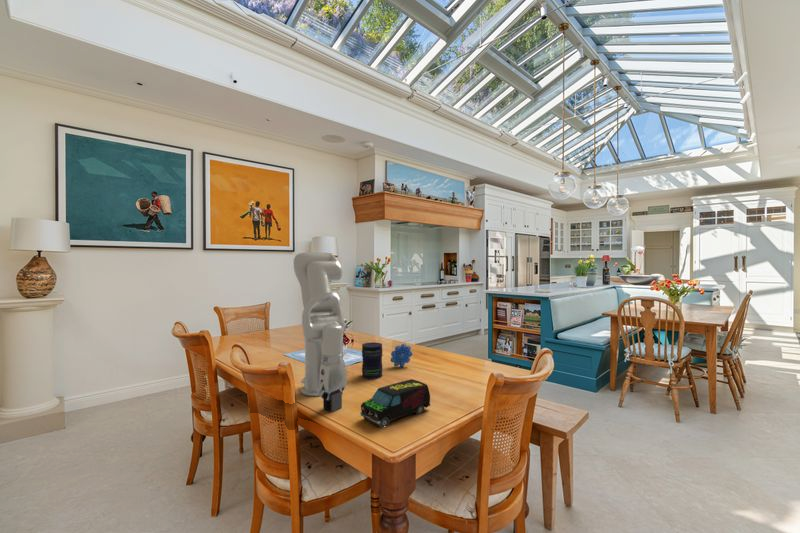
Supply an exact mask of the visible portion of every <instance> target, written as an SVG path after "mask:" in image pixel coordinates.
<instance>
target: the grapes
mask: <svg viewBox="0 0 800 533" xmlns="http://www.w3.org/2000/svg"><path fill="white" fill-rule="evenodd" d="M411 350H412V347H411V346H410V345H407V344H406V343H402V344H401V345H396V346H395V347H394V350H392V351H391V353H390V356H391V358H390V362H391V363H393V365H394V367H404V366H405V365H406V364H409V363H410V361H411V357H412V356H413V351H411Z"/></svg>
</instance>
